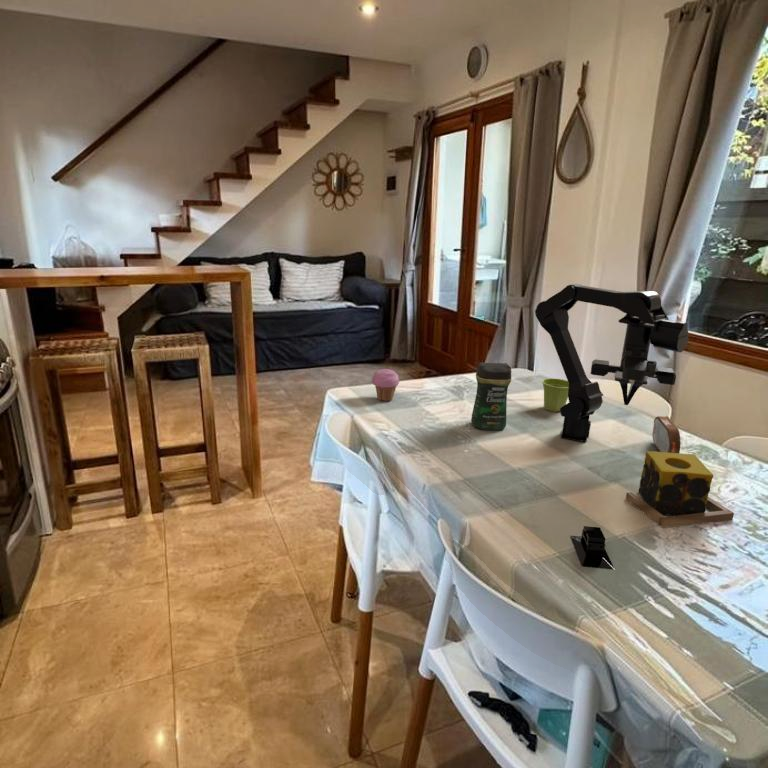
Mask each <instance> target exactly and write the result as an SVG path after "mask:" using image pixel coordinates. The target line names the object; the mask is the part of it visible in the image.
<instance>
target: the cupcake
mask: <svg viewBox="0 0 768 768" xmlns="http://www.w3.org/2000/svg"><path fill="white" fill-rule="evenodd" d="M371 384H372V385H374V386H375V391H376V396H377V399H378V400H379V401H383V402H386V401H387V402H390V401H391V402H392V401H393V398H394V396H395V392H396V390H397V389H396V388H397V387H398V386H399V384H400V379H399V375H398V374H397V372H396V371H395V370H392V369H388V368H382V369H379V370H376V371H375V372H374V373H373V375H372V378H371Z"/></svg>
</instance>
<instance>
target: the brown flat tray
mask: <svg viewBox="0 0 768 768" xmlns="http://www.w3.org/2000/svg"><path fill="white" fill-rule="evenodd" d="M626 499H627V502H629V503H630V502H631V504H632V505H633V506H634V505H635V506H634V507H636V508H637V509H638V510H639V509H640V510H639V511H641V512H642V511H643V512H644V514H645V515H646V516H647V517H648V518H650V519H651V520H653V521H654V522H655V523H656V524H657V525H659V526H660V527H662V528H671V527H678V526H679V527H680V526H688V525H696V524H697V525H698V524H706V523H715V522H723V521H730V520H731V521H732V520H733V518H734V515H735V512H733V511H732V510H730V509H729V508H727V507H726V506H723V504H721V503H719V502H717V501H716V500H715V499H713V498H711V497H709V496H708V500H707V506H706V508H708V509H709V510H711V511H707V512H706V511H705V513H696V514H687V515H678V516H671V515H668V516H666V515H662V514H661V513H659V512H658V511H657V510H655V509H654V508H652V507H651V506H650V505H648V504H647V503H646V502H645V501H644V499H642V498H640V497H639V495H636V494H635V493H633V492H632V491H631V492H629V491H627V492H626V495H625V500H626ZM643 512H642V513H643Z"/></svg>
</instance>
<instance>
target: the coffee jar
mask: <svg viewBox="0 0 768 768" xmlns="http://www.w3.org/2000/svg"><path fill="white" fill-rule="evenodd" d="M476 369H477V370H476V372H475V379H476V383H477V385H476V386H477V387H476V395H475V398H474V399H475V400H474V405H473V409H472V412H471V413H472V414H471V420H470V421H471V424H472V426H473V427H475V428H477V429H479V430H491V431H494V430H495V431H497V430H499V431H500V430H504V429H505V428H506V426H507V402H508V401H507V399H508V398H507V397H508V389H509V385H511V384H510V383H511V382H512V367H511V366H510V364H508V363H506V362H478V365H477V368H476Z"/></svg>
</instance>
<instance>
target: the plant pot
mask: <svg viewBox="0 0 768 768" xmlns="http://www.w3.org/2000/svg"><path fill="white" fill-rule="evenodd" d="M541 382H542V386H543V408H544V409H546V410H547V411H550V412H554V413H555V412H560V408H561V407H563V406H564V405H566V404H567V401H568V400H569V399H568V388H569V383H568V380H567V379H562V378H554V377H553V378H549V377H547V378H544V379H542V380H541Z"/></svg>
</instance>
